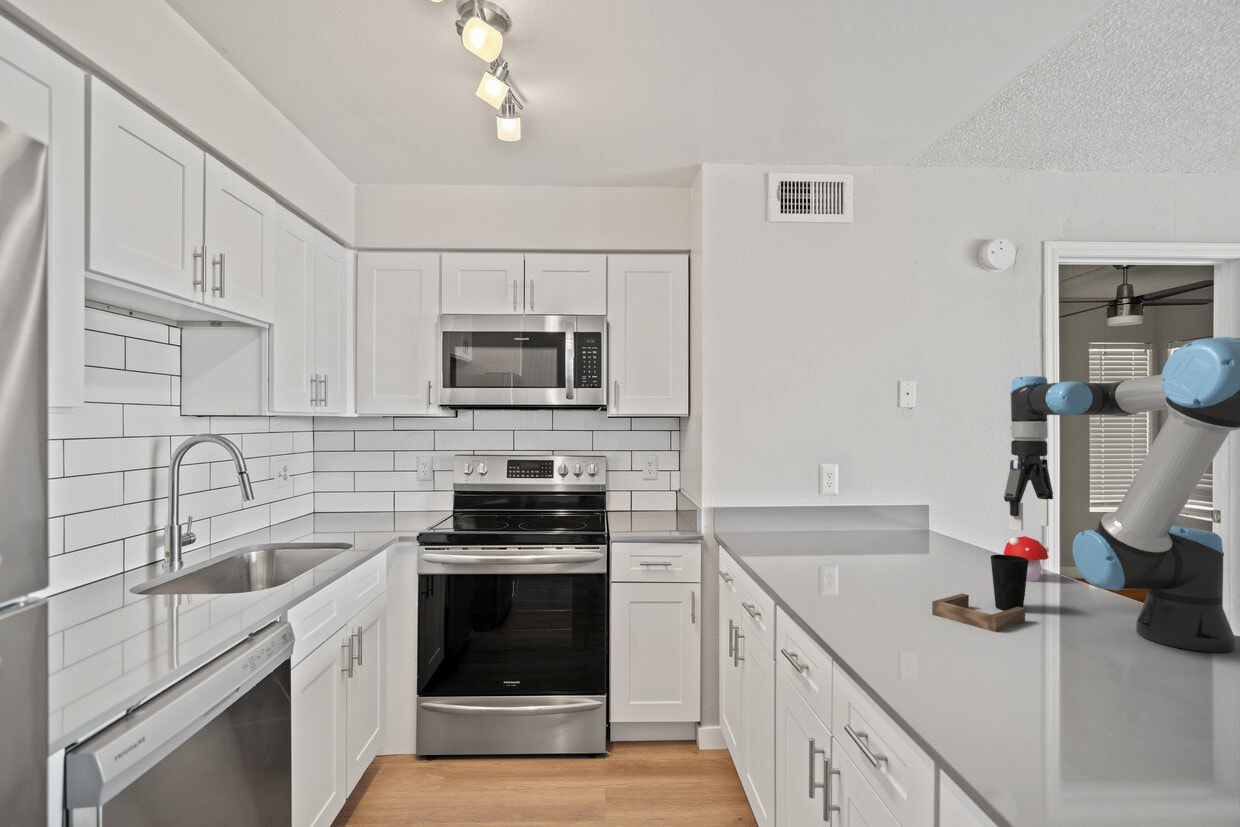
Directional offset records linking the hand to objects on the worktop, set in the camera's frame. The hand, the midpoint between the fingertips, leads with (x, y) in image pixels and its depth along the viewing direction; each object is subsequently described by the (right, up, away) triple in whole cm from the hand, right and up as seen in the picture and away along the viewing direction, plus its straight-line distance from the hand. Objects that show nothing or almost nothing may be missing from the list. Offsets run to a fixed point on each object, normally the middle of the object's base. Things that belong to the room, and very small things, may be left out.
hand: (1029, 527), depth 157 cm
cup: (-8, -18, -5) cm, 21 cm away
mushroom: (+14, -19, +23) cm, 33 cm away
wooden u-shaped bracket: (-19, -18, -12) cm, 29 cm away
